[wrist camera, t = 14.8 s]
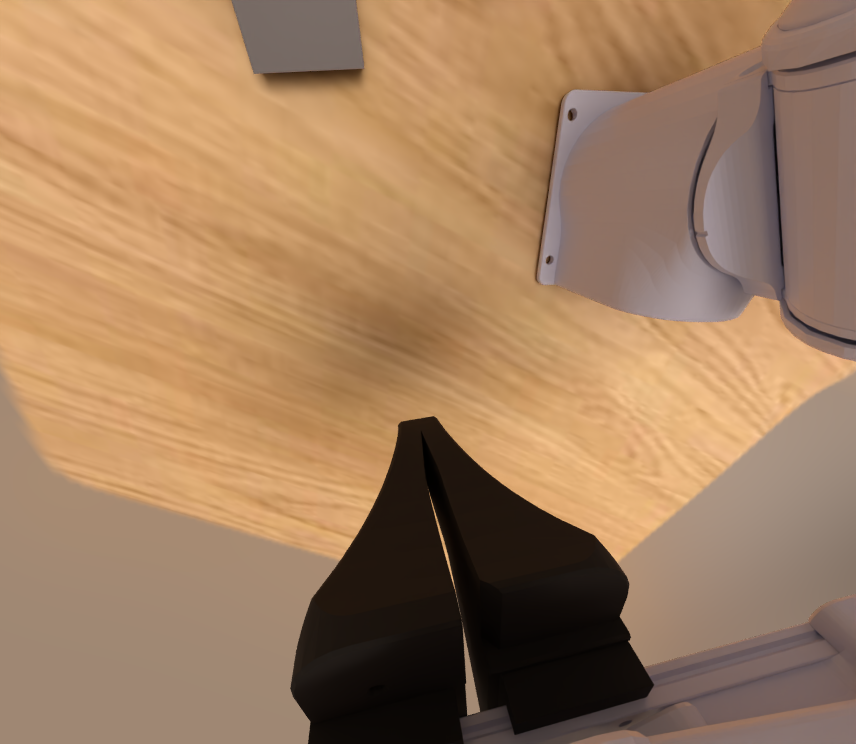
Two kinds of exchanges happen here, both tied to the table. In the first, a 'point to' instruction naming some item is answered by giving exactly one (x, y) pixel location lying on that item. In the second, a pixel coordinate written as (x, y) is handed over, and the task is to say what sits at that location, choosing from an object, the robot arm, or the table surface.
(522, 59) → the table surface
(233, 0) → the domino
